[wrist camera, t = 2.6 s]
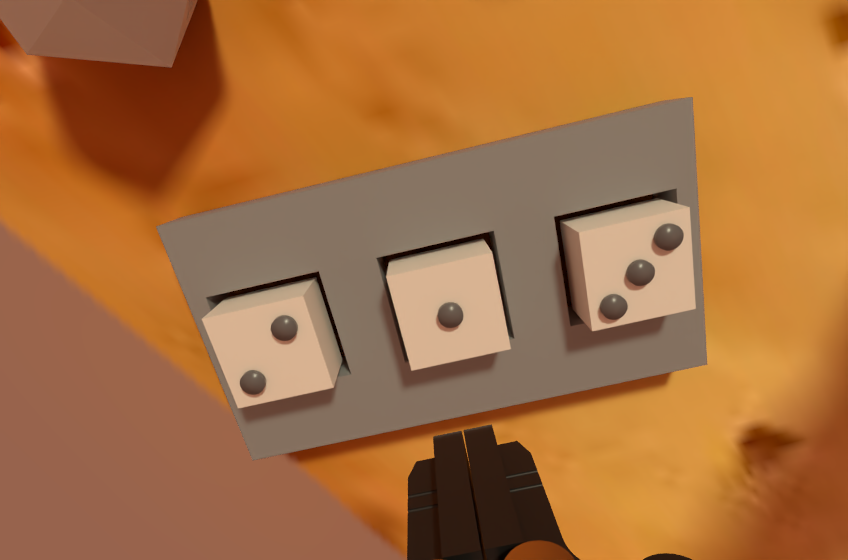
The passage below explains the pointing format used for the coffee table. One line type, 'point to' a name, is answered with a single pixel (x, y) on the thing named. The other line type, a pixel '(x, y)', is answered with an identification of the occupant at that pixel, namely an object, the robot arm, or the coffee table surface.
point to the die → (100, 28)
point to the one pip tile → (448, 304)
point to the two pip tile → (275, 342)
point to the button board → (436, 223)
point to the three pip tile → (630, 263)
